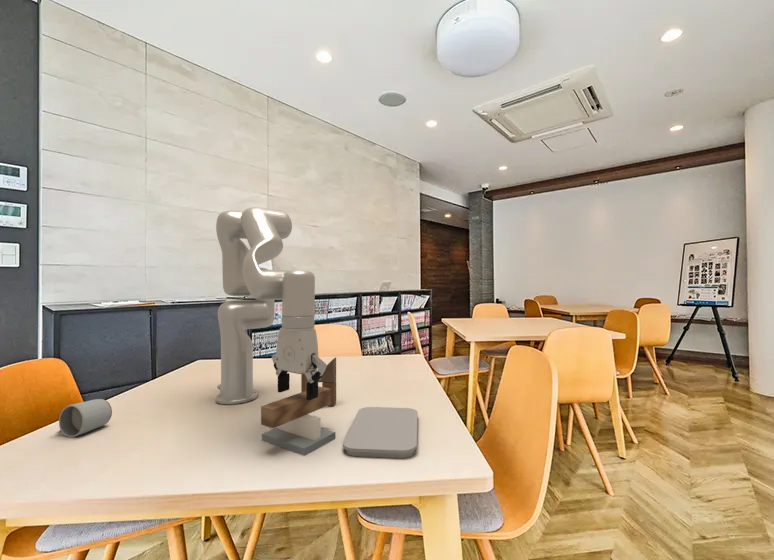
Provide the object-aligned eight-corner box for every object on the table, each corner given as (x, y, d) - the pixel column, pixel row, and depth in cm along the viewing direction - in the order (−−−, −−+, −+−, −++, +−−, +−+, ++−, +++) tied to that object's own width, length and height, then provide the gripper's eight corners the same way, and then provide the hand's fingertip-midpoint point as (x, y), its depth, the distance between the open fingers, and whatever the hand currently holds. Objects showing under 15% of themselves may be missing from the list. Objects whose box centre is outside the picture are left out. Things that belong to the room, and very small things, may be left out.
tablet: (339, 458, 76) (339, 447, 76) (360, 414, 102) (360, 406, 102) (416, 462, 74) (416, 451, 74) (417, 416, 100) (417, 408, 100)
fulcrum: (261, 440, 84) (261, 414, 84) (294, 426, 93) (294, 402, 93) (304, 455, 77) (304, 427, 77) (335, 438, 85) (335, 413, 85)
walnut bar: (273, 428, 76) (273, 409, 76) (261, 424, 78) (261, 406, 78) (330, 404, 91) (330, 388, 91) (318, 401, 93) (318, 386, 93)
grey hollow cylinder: (114, 425, 94) (114, 396, 94) (82, 438, 86) (82, 406, 86) (82, 423, 96) (81, 394, 96) (47, 436, 88) (47, 404, 88)
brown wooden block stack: (333, 406, 107) (333, 346, 108) (298, 405, 109) (298, 346, 109) (336, 402, 111) (336, 344, 111) (303, 401, 112) (303, 344, 113)
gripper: (261, 321, 87) (260, 392, 87) (313, 327, 77) (312, 406, 77) (285, 318, 93) (285, 384, 93) (336, 324, 84) (335, 397, 84)
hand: (297, 394), depth 85 cm, fingers open, 9 cm apart
